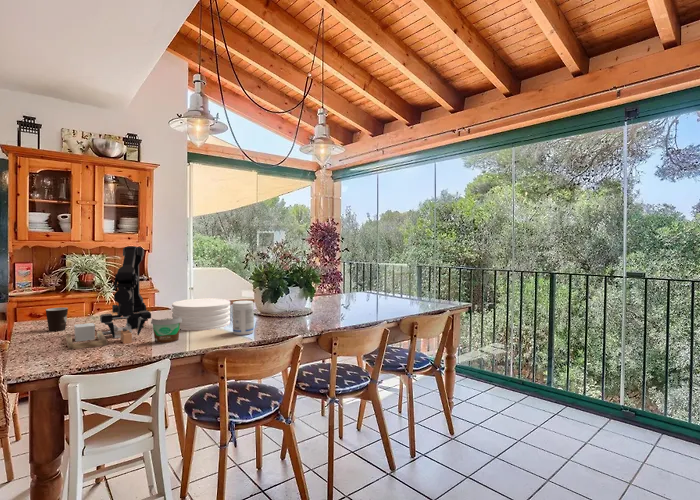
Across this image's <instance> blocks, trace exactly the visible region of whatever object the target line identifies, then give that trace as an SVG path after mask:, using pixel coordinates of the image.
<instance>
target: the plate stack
mask: <svg viewBox="0 0 700 500" xmlns="http://www.w3.org/2000/svg"><path fill="white" fill-rule="evenodd" d="M171 307H172V308H171V310H172V311H171V312H172V313H171V314H172V315H171V317H172V318H171V319H176V318H180V317H181V318H182V322H180V329H181V330H180V331H182V330H183V331H208V330H216V329H221V328H225V327H228V326H230V325H231V311H230V310H231V300H229V299H224V298H212V297H211V298H208V297H207V298H191V299H190V298H189V299H182V300H177V301H174V302H172V303H171Z"/></svg>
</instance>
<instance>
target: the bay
mask: <svg viewBox="0 0 700 500" xmlns="http://www.w3.org/2000/svg"><path fill="white" fill-rule="evenodd" d="M102 332H103V331H102V330H99V331H97V332H96V333H97V334H96V335H97V339H98V340H90V341H82V342H75V343H74V342H73V339H72V335H71V334H65V335H66V337H65V340H66V344H67V347H68V348H67V349H68V350H76V349H85V348H93V347H100V346H107V344H108V340H107V338H106V335H103V333H102Z"/></svg>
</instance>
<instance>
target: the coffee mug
mask: <svg viewBox="0 0 700 500" xmlns="http://www.w3.org/2000/svg"><path fill="white" fill-rule="evenodd" d="M68 311H69V307H51V308H46V309H45V313H46V321H47V328H48V329H47V330H48V332H50V333H51V332H52V333H54V332H62V331H65V330H66V327H67V321H68Z"/></svg>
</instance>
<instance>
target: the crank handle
mask: <svg viewBox="0 0 700 500" xmlns="http://www.w3.org/2000/svg"><path fill="white" fill-rule="evenodd" d="M120 340H121V342H122V343H123V344H124V345H126V344H132V343H133V332H132V333H131V332H130V331H129V330H127V328H123V330H122V331H121V337H120Z"/></svg>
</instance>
